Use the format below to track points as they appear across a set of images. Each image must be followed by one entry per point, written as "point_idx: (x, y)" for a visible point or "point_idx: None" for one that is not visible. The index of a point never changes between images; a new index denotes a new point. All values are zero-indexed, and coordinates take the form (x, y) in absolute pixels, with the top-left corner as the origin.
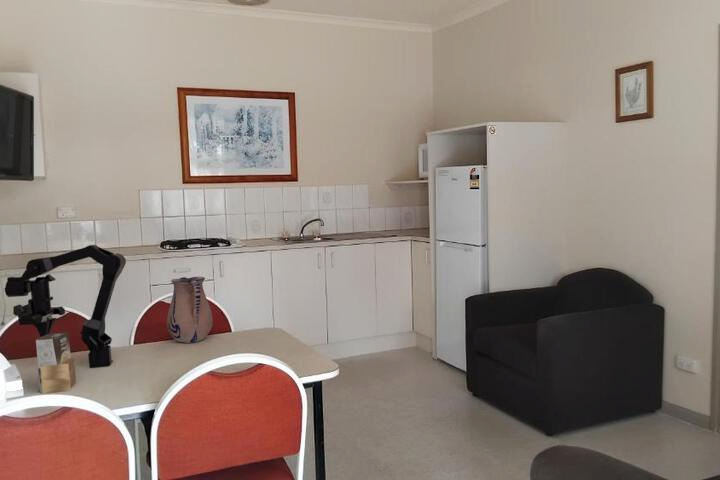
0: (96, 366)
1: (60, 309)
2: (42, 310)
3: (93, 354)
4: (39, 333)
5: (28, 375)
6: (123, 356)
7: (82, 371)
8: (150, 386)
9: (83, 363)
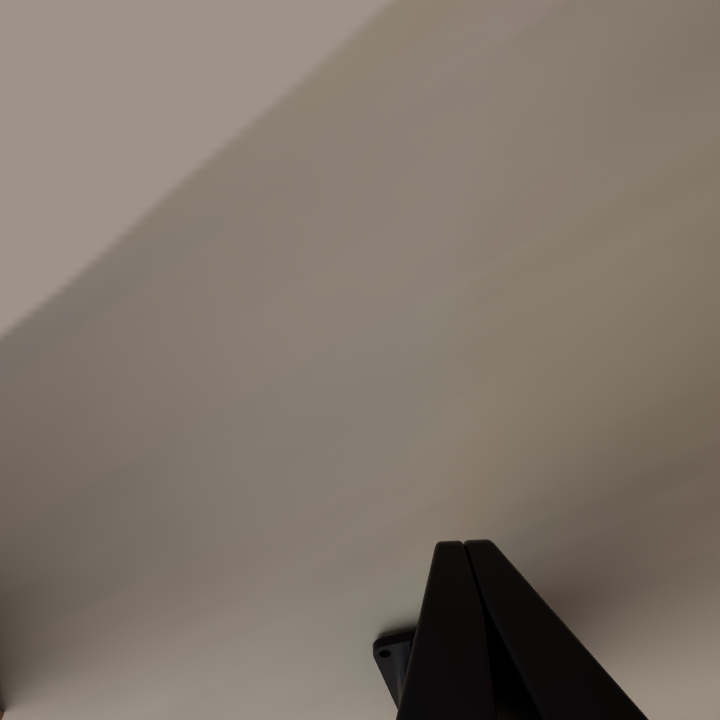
0: (384, 676)
1: None
2: None
3: None
4: (405, 695)
5: (139, 235)
6: (692, 690)
7: (284, 630)
8: None
9: (554, 528)
